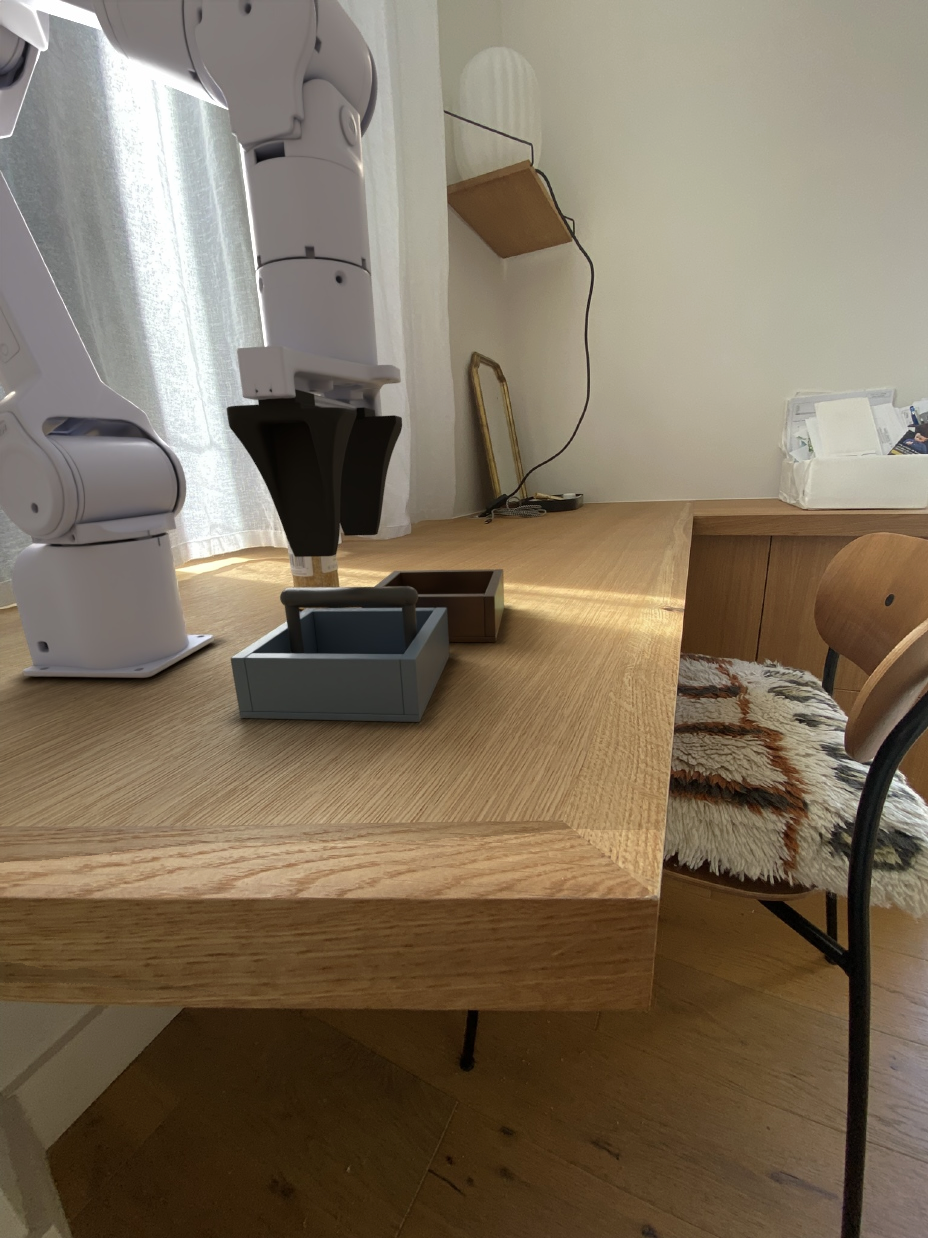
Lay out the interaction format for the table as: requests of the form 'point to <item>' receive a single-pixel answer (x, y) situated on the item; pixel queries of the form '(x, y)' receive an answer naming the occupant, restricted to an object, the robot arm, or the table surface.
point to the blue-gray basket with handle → (345, 657)
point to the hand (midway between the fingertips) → (341, 544)
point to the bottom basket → (458, 599)
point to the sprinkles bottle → (313, 571)
